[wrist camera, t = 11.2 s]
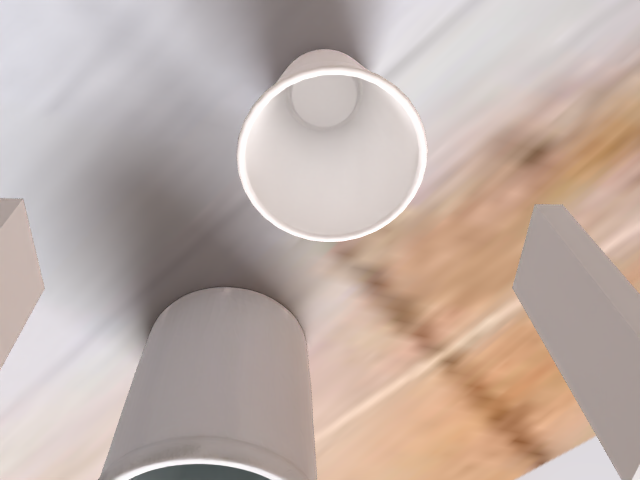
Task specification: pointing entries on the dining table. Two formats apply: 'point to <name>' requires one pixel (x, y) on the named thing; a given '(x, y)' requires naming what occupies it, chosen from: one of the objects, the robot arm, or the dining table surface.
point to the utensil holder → (218, 395)
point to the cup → (331, 149)
